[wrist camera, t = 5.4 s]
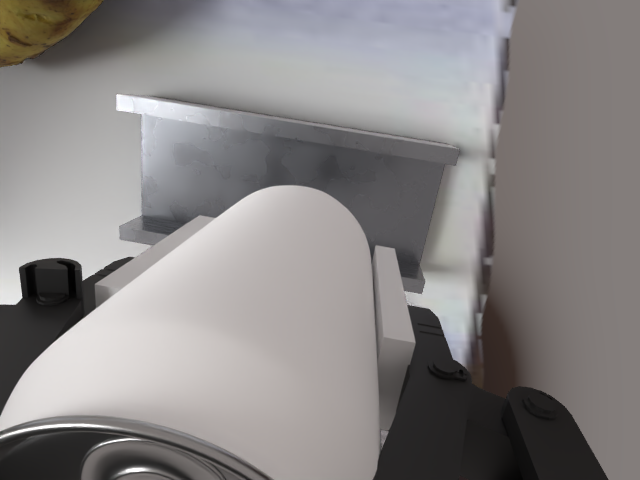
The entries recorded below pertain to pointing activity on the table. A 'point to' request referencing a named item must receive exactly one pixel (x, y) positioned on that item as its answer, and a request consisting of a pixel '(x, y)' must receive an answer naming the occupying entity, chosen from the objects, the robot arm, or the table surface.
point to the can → (217, 360)
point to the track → (283, 172)
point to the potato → (38, 25)
